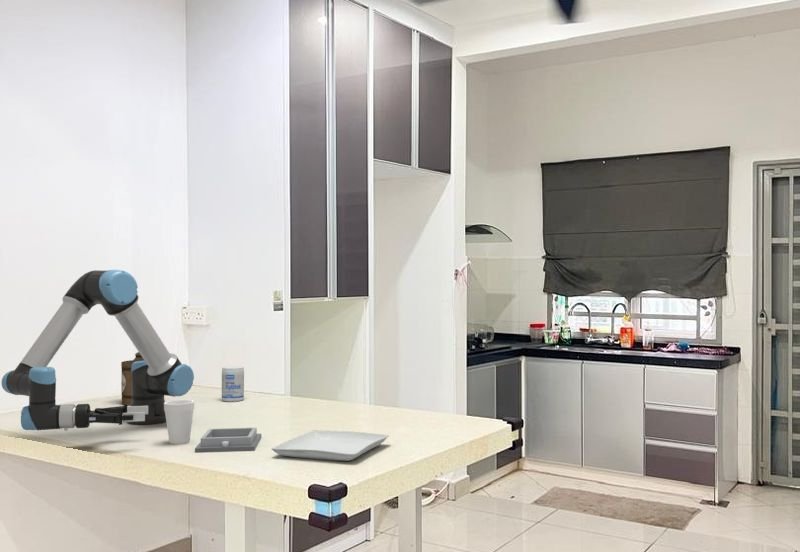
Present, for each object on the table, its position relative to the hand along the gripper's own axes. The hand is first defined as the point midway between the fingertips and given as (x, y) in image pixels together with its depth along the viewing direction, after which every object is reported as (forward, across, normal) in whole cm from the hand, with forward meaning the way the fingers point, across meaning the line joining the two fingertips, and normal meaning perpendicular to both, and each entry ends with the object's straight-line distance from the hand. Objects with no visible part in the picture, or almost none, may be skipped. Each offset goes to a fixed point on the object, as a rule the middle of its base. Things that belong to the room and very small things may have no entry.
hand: (146, 413), depth 244 cm
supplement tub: (+30, -83, -9) cm, 89 cm away
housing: (+26, +8, -10) cm, 29 cm away
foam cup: (+10, 0, -10) cm, 14 cm away
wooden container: (-10, -90, -10) cm, 91 cm away
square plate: (+56, +28, -10) cm, 63 cm away
